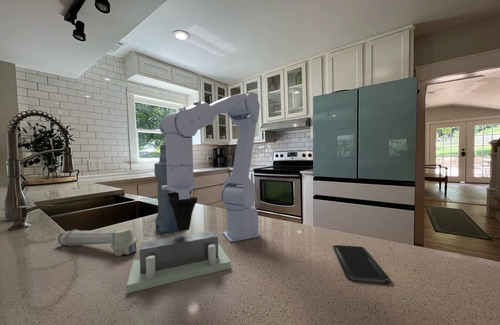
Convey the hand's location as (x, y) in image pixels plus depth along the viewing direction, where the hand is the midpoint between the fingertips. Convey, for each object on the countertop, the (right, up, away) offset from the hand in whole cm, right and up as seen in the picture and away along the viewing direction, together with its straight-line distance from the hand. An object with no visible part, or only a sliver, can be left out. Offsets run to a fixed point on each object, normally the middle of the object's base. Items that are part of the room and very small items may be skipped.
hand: (181, 224), depth 48 cm
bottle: (-12, -9, +25) cm, 30 cm away
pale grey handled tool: (-27, -10, +10) cm, 30 cm away
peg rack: (0, -9, -1) cm, 9 cm away
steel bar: (0, -8, -1) cm, 8 cm away
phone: (+40, -9, 0) cm, 41 cm away
